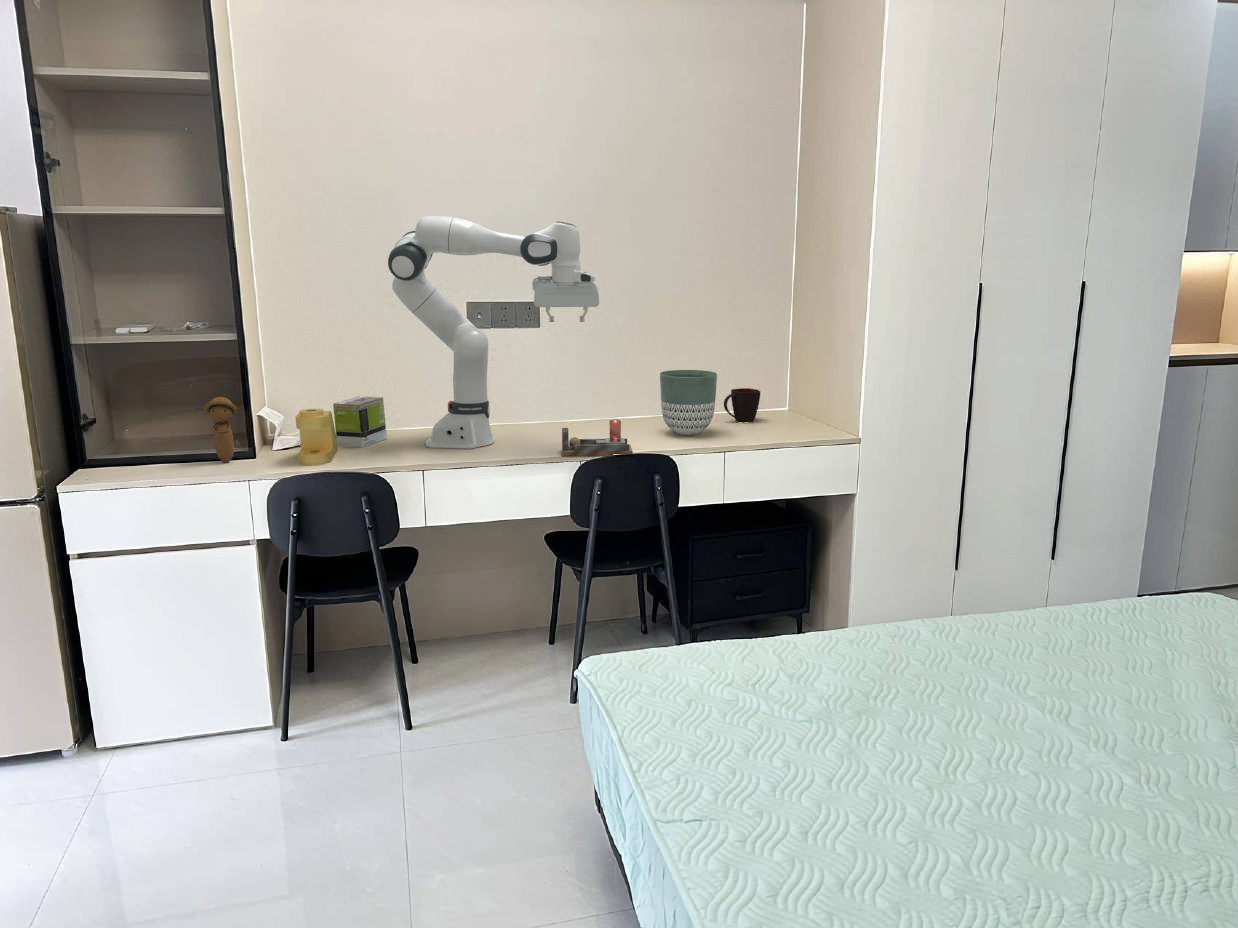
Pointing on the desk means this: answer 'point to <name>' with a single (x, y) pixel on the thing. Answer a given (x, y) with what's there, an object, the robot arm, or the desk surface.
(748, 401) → the cup
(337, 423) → the tea box
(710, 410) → the planter
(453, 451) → the desk surface
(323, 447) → the clamp
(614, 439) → the ram
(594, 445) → the press bed
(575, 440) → the walnut ball
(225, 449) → the figurine
